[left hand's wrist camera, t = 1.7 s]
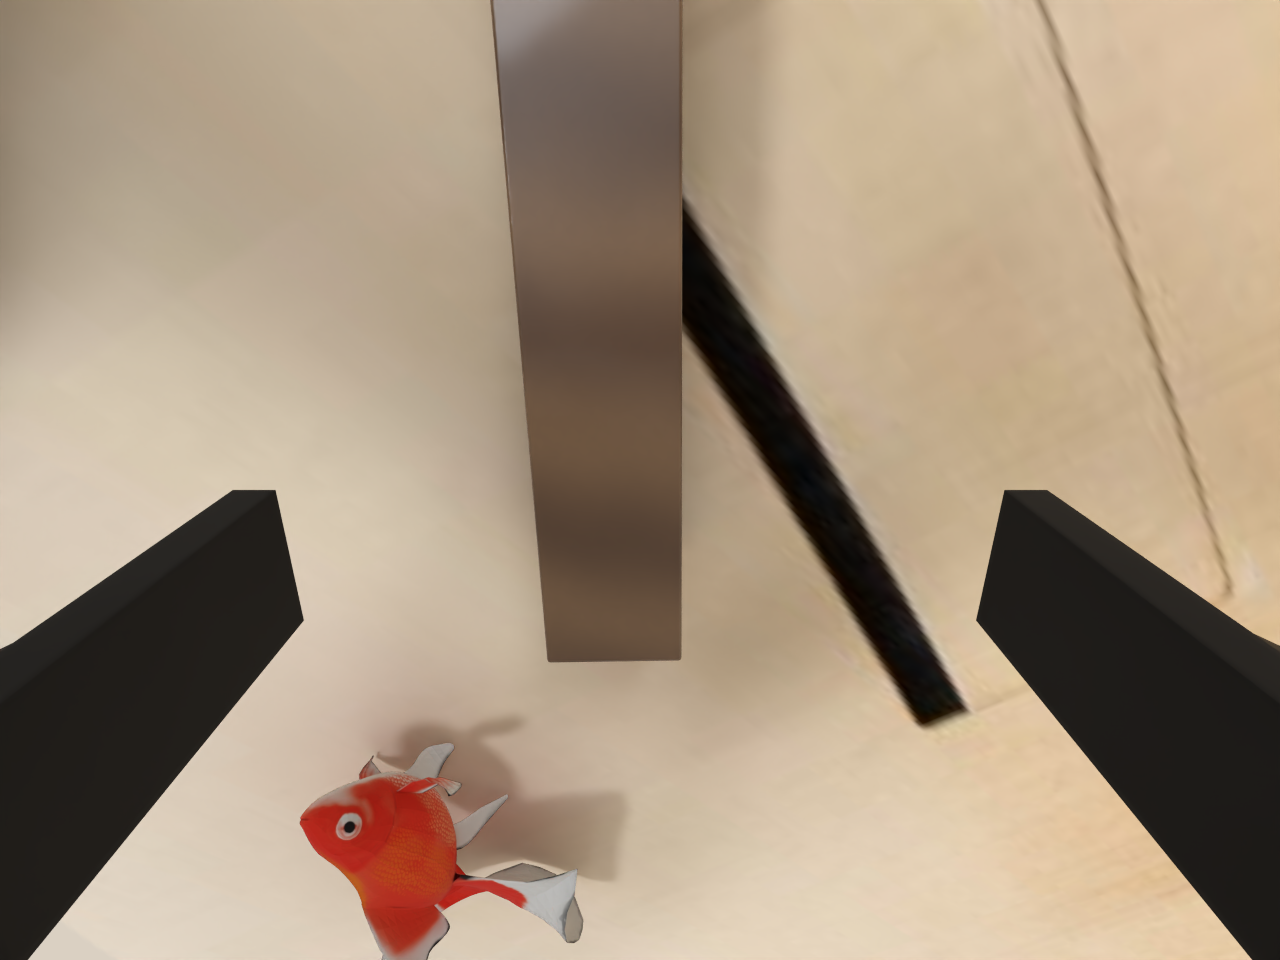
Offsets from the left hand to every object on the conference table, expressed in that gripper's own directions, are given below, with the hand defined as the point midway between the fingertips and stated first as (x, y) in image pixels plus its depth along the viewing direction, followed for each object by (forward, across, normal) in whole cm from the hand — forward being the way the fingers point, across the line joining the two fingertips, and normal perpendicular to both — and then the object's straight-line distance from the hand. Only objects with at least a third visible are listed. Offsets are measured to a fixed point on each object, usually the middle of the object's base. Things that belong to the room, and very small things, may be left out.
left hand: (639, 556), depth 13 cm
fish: (+16, +8, +23) cm, 29 cm away
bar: (+16, +2, -28) cm, 32 cm away
